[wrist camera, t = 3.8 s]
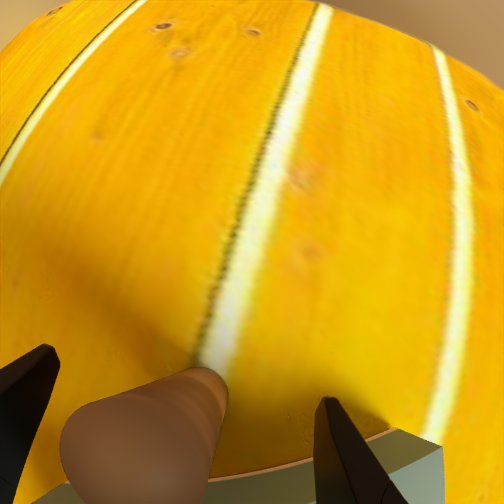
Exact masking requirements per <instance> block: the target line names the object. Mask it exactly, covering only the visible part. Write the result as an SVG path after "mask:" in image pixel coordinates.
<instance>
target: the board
mask: <svg viewBox="0 0 504 504" xmlns="http://www.w3.org/2000/svg"><path fill="white" fill-rule="evenodd" d="M364 440H365V441H366V443H367V444H368V446H369V447H370V449H371V450H372V452H373V453H374V455H375V456H376V458H377V459H378V461H379V462H380V464H381V465H382V466H383V468H384V469H385V471H386V472H387V474H388V475H389V477H390V480H392V481H393V483H394V484H395V486H396V487H397V488H398V490H399V491H400V493H401V494H402V495H403V497H404V498H405V499H406V501H407V502H408V503H409V504H445V479H444V460H443V447H442V446H439V445H437V444H434V443H432V442H429V441H427V440H424V439H422V438H419V437H417V436H415V435H412V434H410V433H408V432H405V431H403V430H401V429H398V428H396V427H393V428H391V429H389V430H387V431H384V432H382V433H379V434H377V435H375V436H372V437H370V438H367V439H364ZM31 504H86V503H85V502H84V501H83V500H82V499H81V498H80V497H79V495H78V494H77V493H76V491H75V490H74V489H73V487H72V486H71V484H70V482H69V481H66V482H64V483H63V484H61V485H60V486H58V487H57V488H55V489H54V490H52V491H50V492H49V493H47V494H46V495H44V496H43V497H41V498H39V499H38V500H36V501H34V502H33V503H31ZM201 504H316V493H315V478H314V464H313V457H311V458H308V459H304V460H301V461H297V462H293V463H289V464H285V465H281V466H277V467H273V468H268V469H264V470H259V471H254V472H249V473H244V474H238V475H232V476H226V477H219V478H212V479H208V482H207V486H206V490H205V494H204V498H203V501H202V503H201Z"/></svg>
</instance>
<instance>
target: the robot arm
mask: <svg viewBox="0 0 504 504" xmlns="http://www.w3.org/2000/svg"><path fill="white" fill-rule="evenodd" d="M59 370H60V360H59V358H58V356H57V353H56V351H55V348H54V347H53V346H51V345H48V344H42V345H40V346H38V347H36V348H35V349H33V350H31V351H30V352H28V353H26V354H25V355H23V356H21V357H20V358H18V359H16V360H15V361H13V362H11V363H10V364H8V365H7V366H5V367H3V368H2V369H0V504H13V501H14V497H15V494H16V490H17V487H18V483H19V480H20V477H21V474H22V471H23V468H24V465H25V462H26V459H27V456H28V454H29V451H30V448H31V445H32V443H33V440H34V437H35V435H36V432H37V430H38V427H39V425H40V422H41V420H42V417H43V415H44V413H45V410H46V408H47V405H48V403H49V400H50V397H51V394H52V391H53V387H54V384H55V381H56V378H57V375H58V372H59ZM313 464H314V478H315V493H316V504H409V503H408V502H407V501H406V499H405V498H404V497H403V495H402V494H401V493H400V491H399V490H398V488H397V487H396V486H395V484H394V483H393V481H392V480H390V477H389V475H388V474H387V472H386V471H385V469H384V468H383V466H382V465H381V464H380V462H379V461H378V459H377V458H376V456H375V455H374V453H373V452H372V450H371V449H370V447H369V446H368V444H367V443H366V441H365V440H364V438H363V437H362V435H361V434H360V432H359V431H358V429H357V428H356V426H355V425H354V423H353V422H352V420H351V419H350V417H349V416H348V414H347V413H346V411H345V410H344V408H343V407H342V405H341V404H340V402H339V401H338V399H337V398H336V397H330V396H324V397H323V398H322V399H321V401H320V403H319V405H318V407H317V409H316V412H315V425H314V448H313Z"/></svg>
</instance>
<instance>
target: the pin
mask: <svg viewBox="0 0 504 504" xmlns="http://www.w3.org/2000/svg"><path fill="white" fill-rule="evenodd" d="M227 403H228V389H227V386H226V384H225V382H224V380H223V379H222V378H221V377H220V376H219V375H218V374H217V373H216V372H214V371H212V370H210V369H208V368H204V367H193V368H189V369H186V370H184V371H181V372H178V373H176V374H173V375H171V376H168V377H165V378H162V379H160V380H157V381H154V382H151V383H149V384H146V385H143V386H140V387H137V388H134V389H132V390H129V391H126V392H123V393H120V394H117V395H114V396H110V397H107V398H104V399H101V400H98V401H95V402H91V403H88V404H86V405H84V406H82V407H81V408H79V409H78V410H76V411H75V412H74V413H73V414H72V415H71V416H70V417H69V419H68V420H67V422H66V423H65V426H64V428H63V430H62V434H61V438H60V457H61V462H62V466H63V469H64V472H65V474H66V476H67V478H68V480H69V482H70V484H71V486H72V487H73V489H74V490H75V491H76V493H77V494H78V495H79V497H80V498H81V499H82V500H83V501H84V502H85V503H86V504H201V503H202V501H203V498H204V494H205V490H206V486H207V482H208V478H209V474H210V471H211V467H212V463H213V459H214V455H215V451H216V447H217V443H218V439H219V435H220V431H221V427H222V423H223V419H224V415H225V411H226V407H227Z"/></svg>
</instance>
